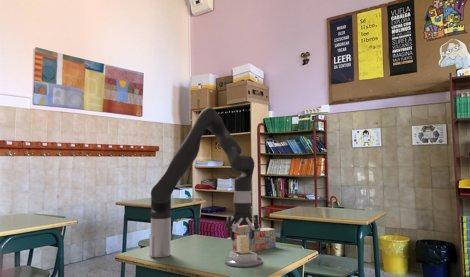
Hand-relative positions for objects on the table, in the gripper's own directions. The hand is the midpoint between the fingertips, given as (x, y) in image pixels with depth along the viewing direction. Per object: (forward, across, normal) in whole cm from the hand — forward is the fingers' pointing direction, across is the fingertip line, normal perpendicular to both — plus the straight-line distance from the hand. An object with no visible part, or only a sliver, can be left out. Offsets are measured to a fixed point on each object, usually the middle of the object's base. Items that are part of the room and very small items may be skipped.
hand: (242, 239), depth 158 cm
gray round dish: (+10, 0, 0) cm, 10 cm away
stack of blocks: (+10, +16, +22) cm, 29 cm away
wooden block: (+9, 0, 0) cm, 9 cm away
